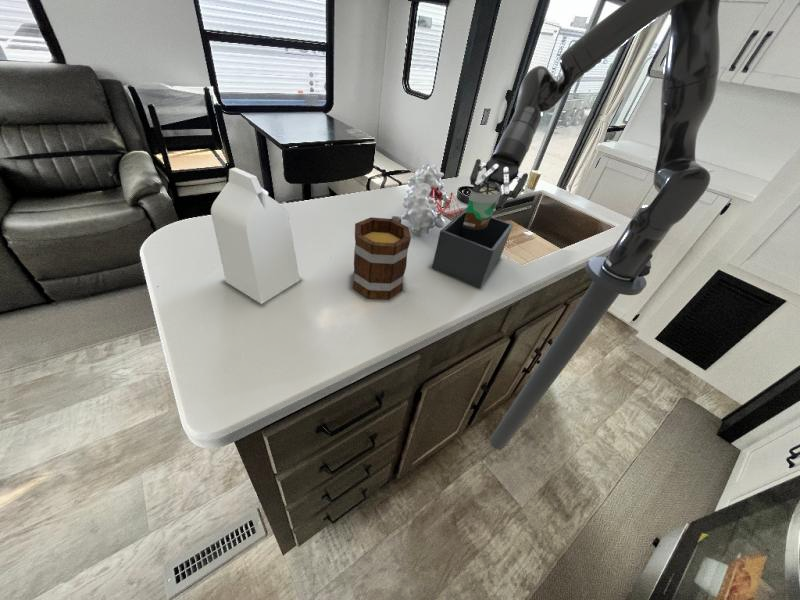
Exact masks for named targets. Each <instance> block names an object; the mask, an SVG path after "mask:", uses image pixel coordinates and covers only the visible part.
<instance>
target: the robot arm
mask: <svg viewBox="0 0 800 600" xmlns="http://www.w3.org/2000/svg"><path fill="white" fill-rule="evenodd" d="M720 4H721V0H627V1H626V2H624V3H623V4H622V5H621V6H620V7H619V6H618V8H617V9H616V10H614V11H612V13H610V14H608V15H607V16H606V17H605V18H603V19H602V20H601V21H599V22H598V23H596V24H595V25H594V26H593V27H592V28H590V29H589V30H588V31H587V32H585V34H583V35H582V36H580V38H578V39H577V40H576V41H575V42H574V43H572V44H571V45H570V46H569V47H568V48H567V49H565V50H564V52H563V53H562V54H561V55H560V56H559V66H560V69H561V72H562V73H561V76H560V77H559V79H557V80H556V78H555V77H554V76H553V74H552V73H551V72H550V70H549V69H548V68H547V67H545V66H544V65H538V66H534V67H533V68H531V69H530V70H529V71H528V72H527V73H526V74H525V76H524V77H523V79H522V81H521V83H520V86H519V89H518V94H517V98H516V99H517V100H516V103H515V109H514V113H513V115H512V117H511V118H510V121H509V123H508V125H507V127H506V128H505V130H504V131H503V133H502V135H501V137H500V139H499V141H498V143H497V145H496V147H495V149H494V150H493V154H492V155H491V157H490V159H488V161H486V162H484V161H482V160H481V159H480V158H477V159H476V160H475V163H474V165H473V168H472V171H471V174H470V177H469V182H470V185H471V186H473V187H472V189H471V191H473V192H475V191H476V190H477V189H478V188H479V187H481V186H484V185H486V184H487V183H489V182H492V183H497V184H498V185H499V186H502V187H503V193H502V195H501V197H500V200H499V202H497V203H496V206H495V211H498V212H499V211H500V210H503V208H504V206H505V205H506V202H507V201H508V199H514V200H515V199H517V197H518V196H519V194H520V193H521V191H522V190H523V188H524V186H525V185H526V183H527V182H528V178H529V173H527V172H525V173H522V172H520V171H519V170H520V168H521V166H522V163H523V162H524V159H525V158H526V155H527V153H528V152H529V150H530V147H531V145H532V142H533V139H534V136H535V134H536V132H537V130H538V128H539V126H540V124H541V122H542V119H543V113H544V112H547V111H549V110H551V109H553V108H554V107H555V106H556V105H557V104H558V103H559V102H560V101H561V100H562V98H563V97H564V96H565V95H566V93H568V92H569V90H570V89H571V88H572V87H573V86H574V85H575V84H576V83H577V82H578V81H579V79H581V78H582V77H583V76H585V75H586V74H587V73H588V72H589V71H591V70H592V69H594V68H595V67H596V66H597V65H599V64H600V63H601V62H603V61H604V60H605V59H606V58H608V57H609V56H611V55H612V53H614V52H615V51H616V50H618V49H619V48H620V47H622V46H623V45H624V44H626V43H627V42H628V41H629V40H630V39H631V38H633V37H634V36H635V35H636V34H638V33H639V32H640V31H642V30H643V29H644V28H646V27H647V26H649V25H651V23H653V22H654V21H656V20H658V19H659V18H660V17H661V16H663V15H665V14H666V13H668V12H670V31H669V39H668V44H667V48H666V49H667V50H666V54H665V61H664V67H663V75H662V82H661V95H660V120H659V145H658V153H657V158H656V162H655V163H656V164H655V168H654V172H653V181H652V182H653V187H654V189H655V190H656V192H657V194H656V196H655V197H654V198H653V200H652V201H651V202H650V203H649V205H642V206H640V207H639V208H638V209H637V211H636V212H635V214H634V215H633V217H632V218H631V220H630V221H629V223H628V224H627V226H626V227H625V229H624V230H623V232H622V233H621V235H620V237H619V238H618V240H617V241H616V243H615V244H614V246H613V247H612V249H611V251H610V252H609V253H608V255H607V257H606V259H605V261H604V262H603V264H602V265H601V269H602V270H603V271H604V272H605V273H606V274H607V275H609V276H611V277H613V278H615V279H617V280H621V281H629V282H632V283H633V282H634V280H635V279H636V278H637V276H638V277H642V276H643V277H646V276H648V275H649V274H650V273H651V269H652V262H651V259H652V258H653V253H654V252H655V250H656V249H657V247H658V246H659V245H660V243H662V241H663V240H664V238H665V237H666V236H667V234H668V233H669V232H670V231H671V230H672V228H673V227H674V226H675V225H676V224H678V223H679V222H680V221H681V220H682V219H684V218H685V217H686V215H688V213H689V212H690V211H691V210H692V208H693V207H694V206H695V205H696V204H697V202H698V201H699V200H700V199H701V198H702V196H704V194H705V193H706V191H707V189H708V187H709V185H710V183H711V173H710V172H709V170H708V169H707V168H705V167H704V166H702V165H701V164H700V163H698V162H697V161H696V147H697V146H696V145H697V138H698V133H699V131H700V128H701V126H702V125H703V122H704V121H705V119H706V116H707V115H708V113H709V111H710V109H711V107H712V105H713V103H714V99H715V96H716V92H717V87H718V86H717V85H718V80H719V79H718V78H719V72H720V58H721V56H720V55H721V53H720V52H721V50H720V49H721V48H720V47H721V46H720V45H721V44H720V30H719V29H720V28H719V10H720ZM484 169H485V172H484V173H483V174H482V175H481V177H479V178H478V176H479V174H480V172H482V171H483V170H484ZM516 178H517V179H516ZM515 179H516V180H517V181H516V182H517V183H516V185H515V187H514V188H513V189H512V190H510V182H512V181H513V180H515ZM470 194H471V192H470ZM470 194H469V195H470Z"/></svg>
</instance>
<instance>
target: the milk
mask: <svg viewBox="0 0 800 600" xmlns="http://www.w3.org/2000/svg"><path fill="white" fill-rule="evenodd" d="M210 207H211V208H210V215H211V220H212V224H213V228H214V233H215V238H216V242H217V246H218V252H219V255H220V261H221V265H222V270H223V275H224V279H225V283H227V284H228V285H230V286H232V288H235V289H236V290H237V291H240V292H241V293H243V294H244V295H246V296H248V297H249V298H251V299H252V300H254V301H255V302H257V303H259V304H260V305H263V304H264V303H266V302H267V301H269V300H271V299H272V298H274V297H275V296H277V295H279V294H281V293H282V292H284V291H285V290H286V289H288V288H290V287H292V286H293V285H295V284H297V283H298V282H299V281H301V280H300V272H299V267H298V262H297V261H298V260H297V255H296V249H295V245H294V238H293V232H292V225H291V220H290V214H289V211H288V210H287V208H286V207H285V206H284V205H283V204H281V203H280V202H279V201H277V200H275V199H274V198H272V197H271V196H270V195H269V191H267V190H266V189H264V188H263V187H262V186H261V184H260V181H259V179H258V177H257V176H256V175H254V174H253V173H249V172H247V171H245V170H242V169H240V168H237V167H232V168H229V169H228V181H227V183H226V184H225V185H224V187H223V188H222V190H221V191H220V192H219V194H218V195H217V197H216V198H215V199H214V201H213V203H212V205H211V206H210Z"/></svg>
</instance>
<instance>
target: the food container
mask: <svg viewBox="0 0 800 600" xmlns="http://www.w3.org/2000/svg"><path fill="white" fill-rule="evenodd" d="M470 193H471V194H469V197H468V203H467V207H466V208H467V211H466V215H465V219H464V224H463V227H464V228H468V229H473V230H480V229H484V228H486V227H487V225H488V222H489V220H490V218H491V217H492V216H493V213H494V211H495V209H496V206H497V204H498V202H499V200H500V197H501V195H502V194H503V191H502V187H501V185H499V184H497V183H492V182H489V183H487V184H486V185H484V186H481V187H479V188H478V189H477V190H476V191H475V192H473V191H472V190H471V191H470Z"/></svg>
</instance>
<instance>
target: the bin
mask: <svg viewBox="0 0 800 600" xmlns="http://www.w3.org/2000/svg"><path fill="white" fill-rule="evenodd" d="M466 211H467V207H466V208H464V209H462V212H461V213H460V212H459V214H457V215H456V216H457V217H455V216H454V218H453V219H452V220H451V221H449V222H448V223H447V224H446V225H444V227H443V228H441V229H440V230H439V236H438V238H437V242H436V247H435V252H434V257H433V261H432V266H431V268H432V269H434V270H436V271H439V272H441V273H443V274H444V275H445V274H446V275H448V276H450V277H452V278H455V279H456V280H459V281H462V282H464V283H467V284H469V285H471V286H473V287H475V288H478V289H481V287H482V286H483V285H484V283H485V282H486V280H487V279H488V277H489V276H490V274H491V273H492V271H493V269H494V268H495V267H496V265H498V262H499V261H500V260H501V258H502V255H503V252H504V249H505V247H506V244H507V242H508V239H509V237H510V234H511V232H512V229H513V226H514V224H513V223H510V222H508V221H505V220H502V219H500V218H496V217H494V216H491V218H490V220H489V222H488V225H487V227H486V228H484V229H480V230H473V229H468V228H464V227H463V224H464V219H465V215H466Z"/></svg>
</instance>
